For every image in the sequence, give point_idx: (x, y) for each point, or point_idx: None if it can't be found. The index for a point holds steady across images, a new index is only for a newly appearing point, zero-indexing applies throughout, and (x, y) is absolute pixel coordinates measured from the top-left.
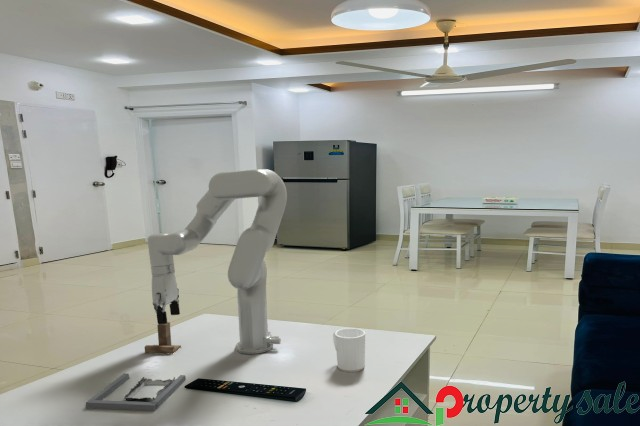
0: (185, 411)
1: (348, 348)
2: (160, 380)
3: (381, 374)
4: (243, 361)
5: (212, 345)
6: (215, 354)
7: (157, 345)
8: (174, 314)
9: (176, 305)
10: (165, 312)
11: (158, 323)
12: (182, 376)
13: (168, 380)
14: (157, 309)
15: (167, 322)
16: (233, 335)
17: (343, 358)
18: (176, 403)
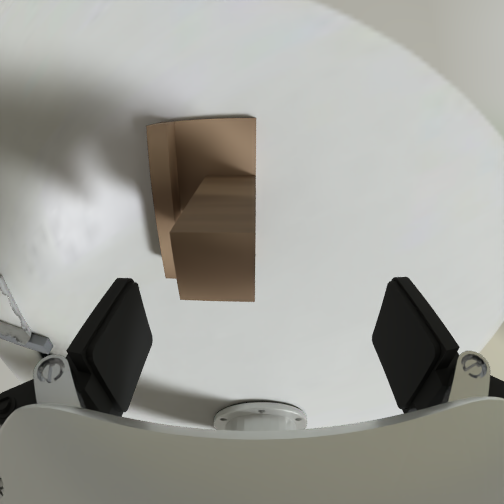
0: (8, 358)
1: None
2: (14, 312)
3: None
4: (176, 415)
5: (278, 354)
6: (201, 375)
7: (172, 192)
8: (382, 310)
9: (399, 395)
10: (112, 410)
11: (119, 283)
12: (42, 350)
13: (22, 327)
14: (31, 404)
15: (250, 285)
16: (367, 370)
17: None
18: (9, 345)
